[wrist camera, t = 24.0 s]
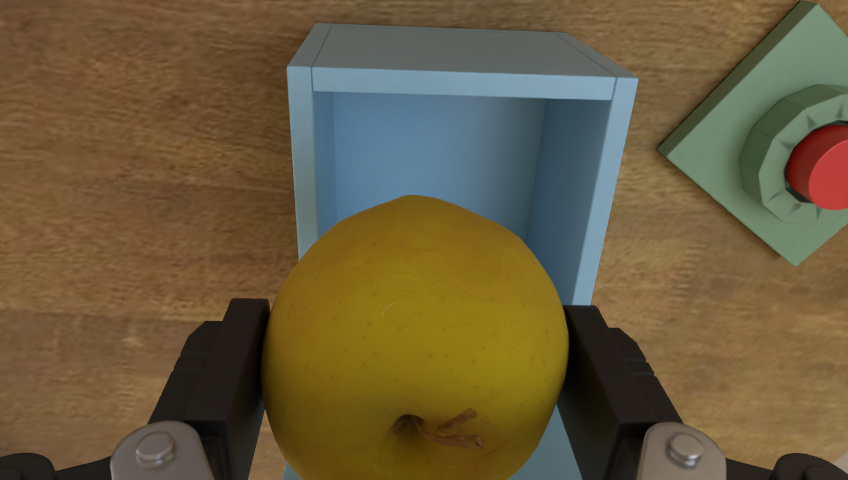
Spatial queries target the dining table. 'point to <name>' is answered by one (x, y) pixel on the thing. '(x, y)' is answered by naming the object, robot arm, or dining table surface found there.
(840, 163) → the button
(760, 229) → the green button base
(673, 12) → the dining table surface
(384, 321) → the apple
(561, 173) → the box
